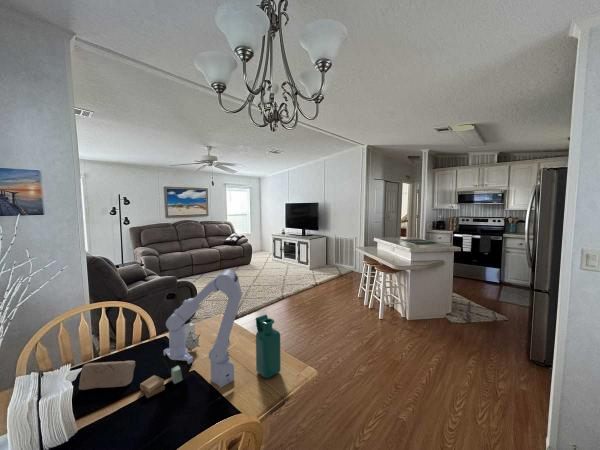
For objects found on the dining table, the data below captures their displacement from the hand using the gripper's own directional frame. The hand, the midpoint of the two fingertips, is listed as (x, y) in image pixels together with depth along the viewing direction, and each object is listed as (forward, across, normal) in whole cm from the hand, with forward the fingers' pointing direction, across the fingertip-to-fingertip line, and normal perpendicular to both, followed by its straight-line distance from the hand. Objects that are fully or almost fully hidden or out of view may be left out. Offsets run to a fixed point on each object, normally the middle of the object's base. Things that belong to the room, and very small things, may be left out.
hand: (178, 375), depth 103 cm
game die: (+2, +12, -16) cm, 20 cm away
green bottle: (+2, -29, -20) cm, 35 cm away
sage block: (+2, 0, 0) cm, 2 cm away
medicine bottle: (+2, +25, -24) cm, 34 cm away
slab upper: (0, +4, +8) cm, 9 cm away
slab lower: (+2, +4, +8) cm, 9 cm away
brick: (+2, +21, +14) cm, 26 cm away
